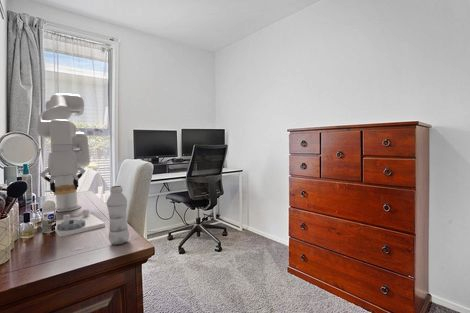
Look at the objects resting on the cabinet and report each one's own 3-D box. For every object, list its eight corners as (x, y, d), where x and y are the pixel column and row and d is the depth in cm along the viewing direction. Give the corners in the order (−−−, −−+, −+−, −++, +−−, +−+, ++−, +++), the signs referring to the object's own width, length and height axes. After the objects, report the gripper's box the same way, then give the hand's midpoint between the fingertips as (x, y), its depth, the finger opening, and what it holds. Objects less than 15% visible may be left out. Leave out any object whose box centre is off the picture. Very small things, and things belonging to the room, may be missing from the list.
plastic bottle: (119, 248, 86) (116, 188, 84) (104, 245, 88) (101, 187, 87) (133, 240, 92) (131, 185, 91) (118, 238, 94) (116, 184, 93)
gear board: (50, 225, 112) (50, 215, 111) (91, 217, 123) (91, 207, 122) (59, 237, 97) (58, 225, 97) (104, 226, 108) (104, 216, 108)
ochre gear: (53, 193, 110) (52, 186, 110) (72, 190, 115) (72, 183, 115) (56, 195, 105) (55, 188, 104) (76, 192, 110) (76, 185, 109)
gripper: (83, 148, 117) (85, 186, 118) (35, 150, 105) (38, 192, 106) (87, 148, 112) (89, 188, 113) (37, 150, 100) (40, 195, 101)
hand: (64, 190), depth 110 cm, fingers closed on ochre gear, 7 cm apart
